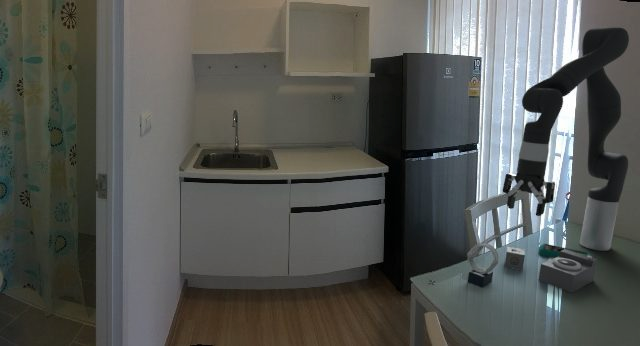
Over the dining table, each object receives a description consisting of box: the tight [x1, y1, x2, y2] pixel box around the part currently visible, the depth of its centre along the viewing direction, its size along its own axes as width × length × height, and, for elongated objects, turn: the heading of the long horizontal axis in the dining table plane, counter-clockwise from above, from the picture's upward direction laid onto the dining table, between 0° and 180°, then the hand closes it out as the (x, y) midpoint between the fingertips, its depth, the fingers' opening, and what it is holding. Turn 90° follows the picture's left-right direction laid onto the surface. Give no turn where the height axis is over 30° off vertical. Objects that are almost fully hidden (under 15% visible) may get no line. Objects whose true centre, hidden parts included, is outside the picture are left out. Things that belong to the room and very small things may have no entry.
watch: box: [466, 242, 499, 289], centre depth 124 cm, size 6×8×11 cm
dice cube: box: [504, 246, 526, 271], centre depth 137 cm, size 5×5×5 cm
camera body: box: [537, 249, 598, 293], centre depth 128 cm, size 14×9×7 cm, turn 128°
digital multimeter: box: [538, 243, 592, 259], centre depth 147 cm, size 7×15×3 cm, turn 58°
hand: (524, 211), depth 134 cm, fingers open, 8 cm apart
